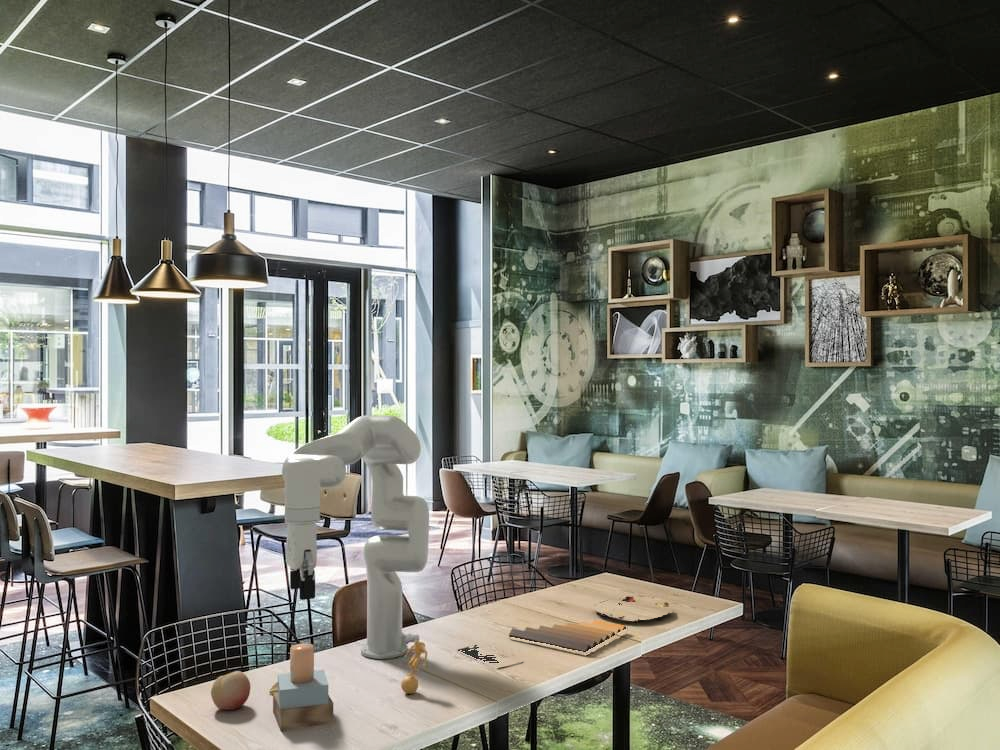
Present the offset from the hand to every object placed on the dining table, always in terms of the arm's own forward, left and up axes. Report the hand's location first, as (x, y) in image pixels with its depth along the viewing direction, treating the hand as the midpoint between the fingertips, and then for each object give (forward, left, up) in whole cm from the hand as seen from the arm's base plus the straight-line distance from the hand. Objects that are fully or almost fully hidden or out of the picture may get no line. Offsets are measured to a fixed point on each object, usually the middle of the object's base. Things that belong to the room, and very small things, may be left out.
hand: (302, 593), depth 173 cm
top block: (0, 0, -23) cm, 23 cm away
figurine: (-27, -3, -27) cm, 38 cm away
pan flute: (-82, -23, -28) cm, 90 cm away
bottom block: (0, 0, -27) cm, 27 cm away
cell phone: (-54, -18, -27) cm, 63 cm away
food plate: (-113, -35, -27) cm, 121 cm away
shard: (0, -19, -28) cm, 33 cm away
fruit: (+13, -12, -27) cm, 32 cm away
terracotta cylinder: (0, 0, -19) cm, 19 cm away
